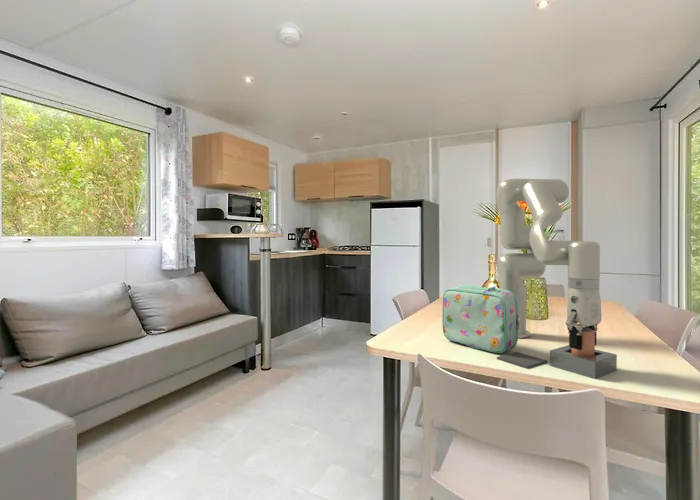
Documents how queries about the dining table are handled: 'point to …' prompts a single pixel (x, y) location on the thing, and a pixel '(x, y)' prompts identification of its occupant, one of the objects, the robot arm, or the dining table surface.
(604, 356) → the housing
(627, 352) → the dining table surface
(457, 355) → the dining table surface
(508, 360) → the mat
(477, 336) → the lunch box
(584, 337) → the orange cylinder
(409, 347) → the dining table surface
